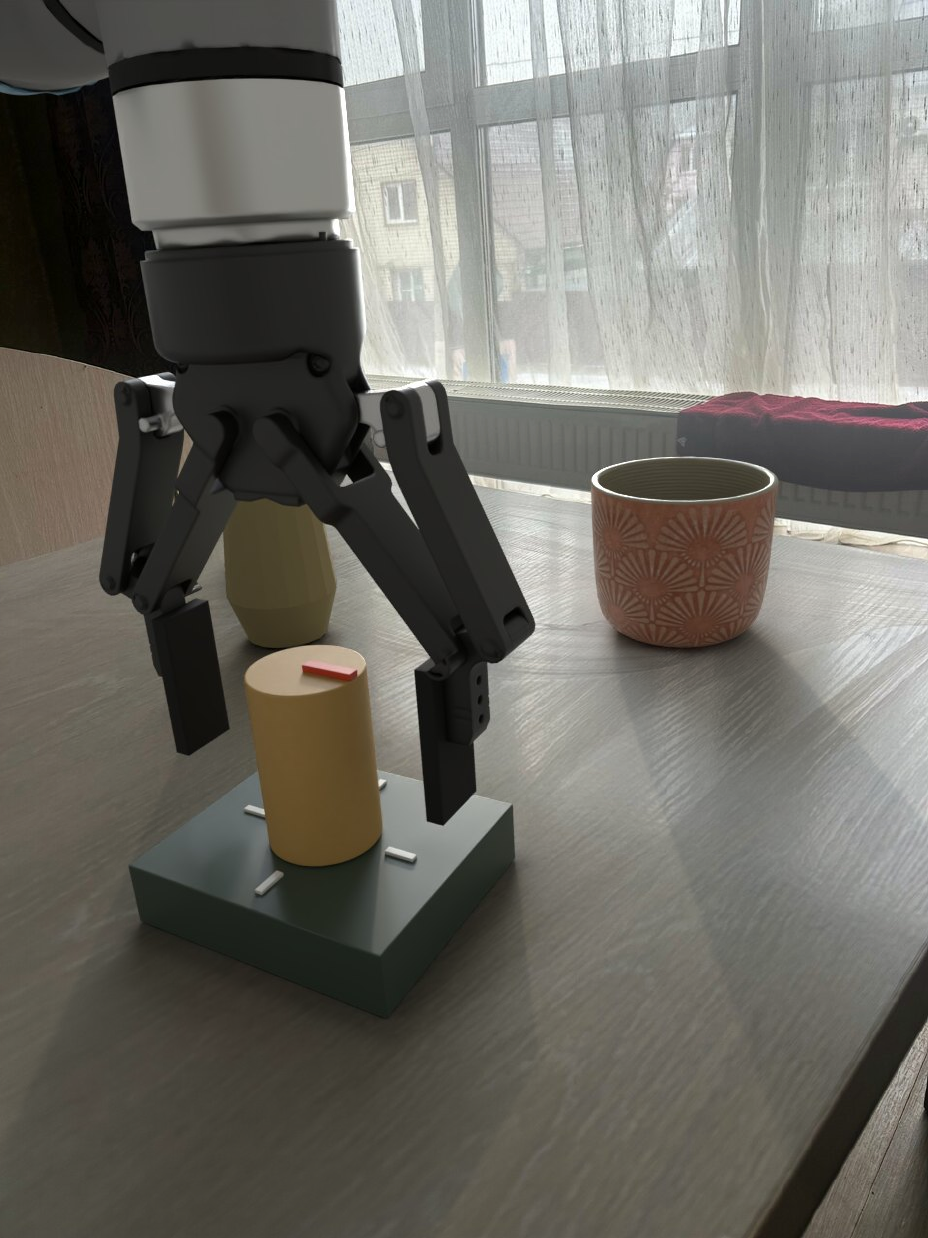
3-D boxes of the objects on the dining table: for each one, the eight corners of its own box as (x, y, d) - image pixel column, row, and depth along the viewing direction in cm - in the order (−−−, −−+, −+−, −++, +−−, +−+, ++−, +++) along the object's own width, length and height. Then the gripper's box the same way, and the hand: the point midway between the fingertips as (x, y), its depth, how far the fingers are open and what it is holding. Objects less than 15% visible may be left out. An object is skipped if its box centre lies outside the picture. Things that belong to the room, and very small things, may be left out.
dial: (245, 849, 42) (216, 676, 39) (315, 791, 46) (294, 630, 43) (339, 880, 40) (316, 698, 36) (404, 816, 44) (388, 648, 40)
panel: (140, 921, 43) (126, 862, 41) (295, 796, 51) (288, 744, 50) (387, 1020, 36) (379, 953, 35) (515, 858, 45) (513, 801, 44)
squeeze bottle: (351, 646, 69) (324, 392, 63) (237, 665, 67) (196, 405, 61) (333, 608, 77) (307, 376, 70) (230, 624, 75) (192, 387, 68)
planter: (558, 617, 72) (555, 474, 68) (689, 584, 77) (694, 448, 73) (663, 678, 62) (667, 513, 58) (806, 634, 67) (820, 480, 63)
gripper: (625, 213, 31) (622, 790, 39) (89, 246, 42) (172, 686, 50) (522, 218, 25) (543, 901, 33) (-70, 255, 36) (53, 753, 44)
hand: (318, 771), depth 42 cm, fingers open, 12 cm apart
